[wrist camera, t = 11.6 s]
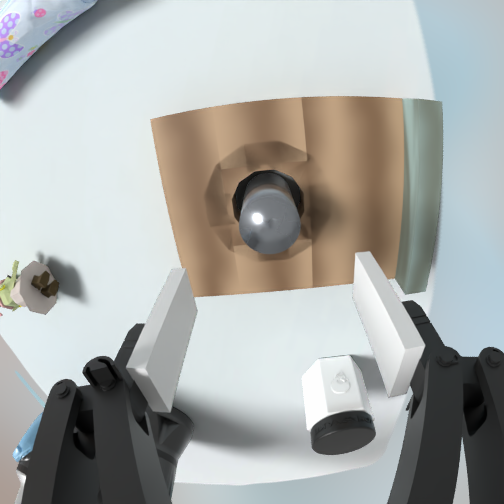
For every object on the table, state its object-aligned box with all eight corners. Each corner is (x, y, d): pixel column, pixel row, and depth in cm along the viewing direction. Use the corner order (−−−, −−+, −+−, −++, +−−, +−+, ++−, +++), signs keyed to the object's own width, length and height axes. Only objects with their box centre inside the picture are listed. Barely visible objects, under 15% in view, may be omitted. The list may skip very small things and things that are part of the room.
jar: (364, 351, 38) (386, 421, 27) (356, 385, 41) (371, 449, 31) (301, 358, 38) (310, 433, 28) (301, 391, 42) (306, 458, 31)
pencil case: (95, -39, 15) (50, -66, 7) (114, 7, 19) (64, -18, 11) (-17, 67, 20) (-66, 73, 11) (-5, 114, 23) (-57, 127, 15)
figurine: (38, 241, 30) (-9, 262, 33) (14, 290, 25) (-27, 300, 28) (77, 282, 36) (24, 293, 39) (62, 328, 31) (11, 331, 34)
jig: (195, 281, 33) (183, 315, 28) (161, 117, 25) (136, 121, 20) (403, 262, 31) (425, 291, 26) (409, 100, 23) (442, 101, 18)
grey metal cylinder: (248, 218, 29) (243, 256, 22) (241, 175, 27) (234, 200, 20) (292, 214, 29) (302, 250, 22) (288, 170, 27) (298, 193, 20)
